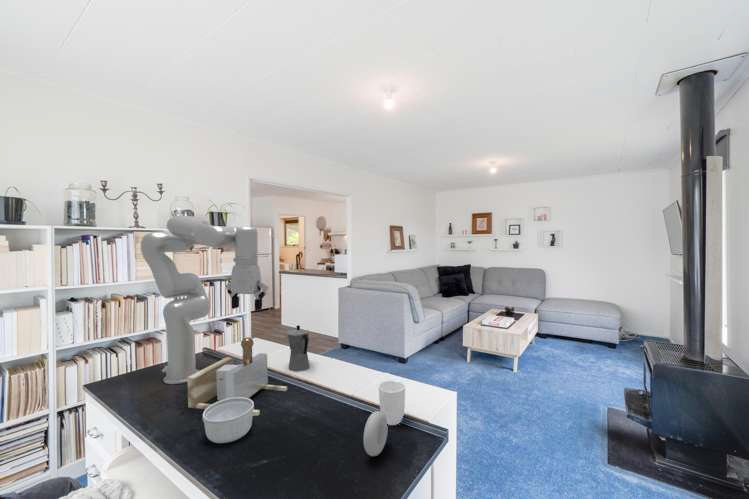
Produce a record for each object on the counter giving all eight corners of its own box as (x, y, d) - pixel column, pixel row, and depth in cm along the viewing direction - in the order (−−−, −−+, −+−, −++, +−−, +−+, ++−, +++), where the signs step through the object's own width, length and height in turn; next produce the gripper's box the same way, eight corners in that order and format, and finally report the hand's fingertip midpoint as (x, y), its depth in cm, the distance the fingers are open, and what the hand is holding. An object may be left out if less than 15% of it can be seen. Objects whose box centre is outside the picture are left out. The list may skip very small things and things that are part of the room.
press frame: (188, 407, 106) (187, 377, 106) (227, 383, 124) (226, 357, 124) (256, 416, 100) (256, 384, 100) (287, 389, 118) (286, 362, 118)
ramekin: (221, 453, 83) (220, 426, 83) (193, 437, 90) (192, 412, 90) (264, 427, 94) (263, 403, 94) (235, 415, 101) (235, 393, 101)
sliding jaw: (224, 407, 103) (223, 345, 102) (259, 382, 121) (258, 330, 120) (235, 408, 102) (234, 346, 101) (269, 383, 120) (267, 330, 119)
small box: (247, 393, 115) (246, 364, 115) (239, 401, 110) (238, 370, 109) (225, 393, 116) (225, 364, 116) (216, 400, 110) (215, 370, 110)
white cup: (408, 414, 99) (407, 382, 99) (402, 428, 92) (401, 393, 92) (383, 410, 102) (383, 379, 102) (375, 424, 94) (375, 390, 94)
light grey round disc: (378, 439, 87) (377, 402, 87) (390, 443, 85) (389, 405, 85) (361, 463, 78) (360, 422, 78) (374, 467, 76) (373, 425, 76)
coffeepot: (282, 365, 142) (281, 324, 141) (302, 360, 147) (301, 320, 147) (297, 376, 129) (296, 331, 129) (318, 370, 135) (317, 327, 135)
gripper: (218, 261, 116) (219, 309, 116) (260, 263, 111) (261, 312, 111) (233, 260, 123) (233, 305, 123) (273, 261, 118) (273, 308, 118)
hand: (246, 308), depth 117 cm, fingers open, 9 cm apart
